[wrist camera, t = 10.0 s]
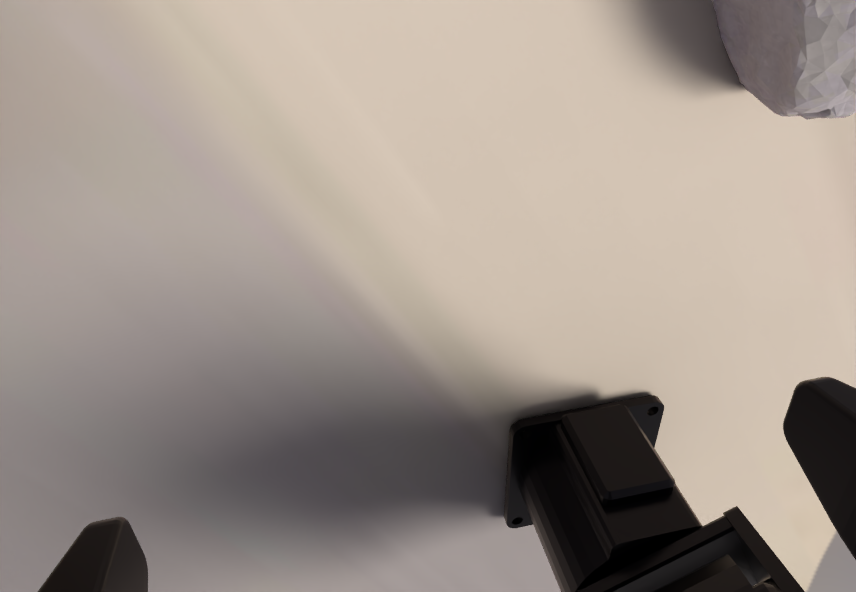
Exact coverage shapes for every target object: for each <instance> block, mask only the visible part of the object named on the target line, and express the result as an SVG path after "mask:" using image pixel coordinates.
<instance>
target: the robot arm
mask: <svg viewBox="0 0 856 592" xmlns="http://www.w3.org/2000/svg"><path fill="white" fill-rule="evenodd" d="M663 411H664V405H663V404H662V402H661V401H660V400H659V398H658V397H657V396H645V397H640V398H635V399H629V400H624V401H618V402H613V403H607V404H602V405H596V406H591V407H586V408H580V409H575V410H569V411H564V412H558V413H553V414H547V415H542V416H537V417H531V418H526V419H521V420H518V421H517V422H515V423H514V424H513V425H512V426H511V428H510V437H509V451H508V465H507V479H506V493H505V507H504V518H505V521H506V524H507V526H508V527H510V528H518V527H523V526H528V525H533V524H534V527H535V529H536V532H537V534H538V537H539V539H540V541H541V544H542V546H543V549H544V551H545V554H546V556H547V558H548V561H549V563H550V566H551V568H552V571H553V573H554V575H555V578H556V580H557V583H558V585H559V588H560V590H561V592H804V590H803V589H802V588H801V586H800V585H799V584H798V583H797V581H796V580H795V579H794V578H793V576H792V575H791V574H790V573H789V571H788V570H787V569H786V567H785V566H784V565H783V564H782V562H781V561H780V560H779V559H778V557H777V556H776V555H775V554H774V552H773V551H772V550H771V548H770V547H769V546H768V545H767V543H766V542H765V541H764V540H763V538H762V537H761V536H760V535H759V533H758V532H757V531H756V530H755V528H754V527H753V526H752V524H751V523H750V522H749V521H748V519H747V518H746V517H745V516H744V514H743V513H742V512H741V511H740V509H739V508H738V507H737V506H736V507H734V508H732V509H730V510H728V511H726V512H724V513H723V514H724V516H722V517H720V518H718V519H716V520H714V521H712V522H710V523H709V524H707V525H705V526H702V525H701V523H700V522H699V520H698V518H697V517H696V515H695V514H694V512H693V511H692V509H691V508H690V506H689V504H688V503H687V501H686V500H685V498H684V497H683V495H682V494H681V492H680V490H679V489H678V487H677V486H676V484H675V480H674V478H673V477H672V475H671V474H670V472H669V471H668V469H667V467H666V466H665V464H664V463H663V461H662V460H661V458H660V457H659V455H658V454H657V452H656V450H655V449H654V447H655V443H656V439H657V435H658V431H659V427H660V423H661V419H662V415H663ZM783 429H784V434H785V437H786V440H787V442H788V444H789V446H790V448H791V449H792V451H793V453H794V455H795V457H796V458H797V460H798V462H799V464H800V466H801V467H802V469H803V471H804V473H805V475H806V476H807V478H808V480H809V482H810V484H811V485H812V487H813V489H814V491H815V493H816V495H817V496H818V498H819V500H820V502H821V504H822V505H823V507H824V509H825V511H826V513H827V514H828V516H829V518H830V520H831V522H832V523H833V525H834V527H835V528H836V530H837V532H838V533H839V535H840V537H841V538H842V540H843V541H844V543H845V544H846V546H847V547H848V549H849V550H850V552H851V554H852V555H853V556H854V558H855V559H856V388H854V387H852V386H849V385H847V384H845V383H843V382H841V381H838V380H836V379H834V378H830V377H820V378H815V379H810V380H805V381H802V382H800V383H799V384H798V385H797V386H796V388H795V390H794V393H793V396H792V399H791V402H790V404H789V407H788V410H787V413H786V416H785V419H784V423H783ZM523 431H524V432H523ZM755 584H756V585H755ZM753 585H754V586H753ZM38 592H148V568H147V562H146V558H145V555H144V553H143V551H142V549H141V547H140V545H139V542H138V540H137V538H136V536H135V534H134V532H133V530H132V528H131V526H130V524H129V522H128V521H127V520H126V519H125V518H123V517H116V518H111V519H106V520H101V521H96V522H93V523H90V524H89V525H88V526H86V527H85V528H84V529H83V531H82V532H81V533H80V535H79V536H78V537H77V539H76V540H75V542H74V543H73V544H72V546H71V547H70V548H69V550H68V551H67V552H66V554H65V555H64V557H63V558H62V559H61V561H60V562H59V563H58V565H57V566H56V567H55V569H54V570H53V572H52V573H51V574H50V576H49V577H48V578H47V580H46V581H45V582H44V584H43V585H42V587H41V588H40V589H39V591H38Z"/></svg>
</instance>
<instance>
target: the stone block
mask: <svg viewBox="0 0 856 592" xmlns="http://www.w3.org/2000/svg"><path fill="white" fill-rule="evenodd" d="M712 3H713V6H714V9H715V12H716V14H717V24H718V28H719V29H720V35H721V39H722V41H723V44H724V46H725V48H726V51H727V53H728V56H729V59H730V61H731V63H732V65H733V67H734V69H735V71H736V73H737V74H738V77H739V82H740V83H742V84H743V85H744V86H745V88H746V89H747V90H748V91H749V92H750V93H752V94H753V95H754V96H755V97H756V98H758V99H759V100H760V101H761V102H762V103H763V104H764V105H765V106H767V107H768V108H769V109H770V110H772V111H773V112H774V113H776V114H778V115H781V116H788V117H791V116H802V117H804V118H805V119H815V118H842V117H847V116H850V115H852V114H854V113H856V0H712Z"/></svg>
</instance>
